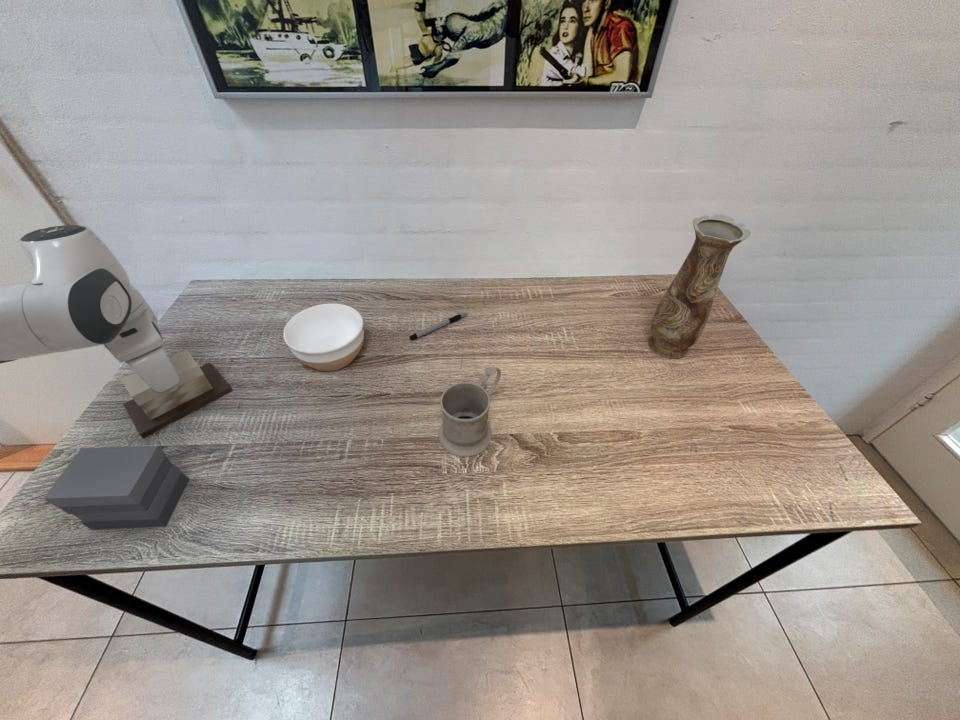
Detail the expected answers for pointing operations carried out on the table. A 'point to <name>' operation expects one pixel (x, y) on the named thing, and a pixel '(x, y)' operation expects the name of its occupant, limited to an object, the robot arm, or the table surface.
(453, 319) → the pen
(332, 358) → the bowl
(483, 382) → the mug
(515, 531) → the table surface
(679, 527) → the table surface
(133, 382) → the white book
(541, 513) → the table surface
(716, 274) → the vase
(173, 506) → the grey books
